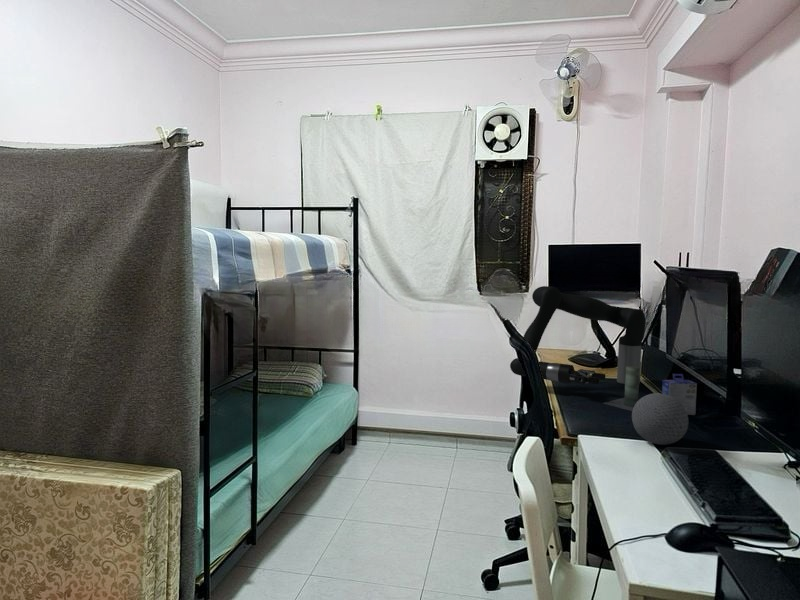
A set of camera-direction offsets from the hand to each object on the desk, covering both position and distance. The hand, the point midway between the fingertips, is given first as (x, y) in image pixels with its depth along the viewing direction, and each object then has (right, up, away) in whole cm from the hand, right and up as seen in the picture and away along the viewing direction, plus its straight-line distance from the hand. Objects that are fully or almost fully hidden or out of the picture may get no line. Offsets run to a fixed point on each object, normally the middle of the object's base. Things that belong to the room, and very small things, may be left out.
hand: (602, 379), depth 191 cm
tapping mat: (+8, -10, -5) cm, 14 cm away
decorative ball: (0, -13, -41) cm, 43 cm away
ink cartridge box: (+21, -11, -14) cm, 27 cm away
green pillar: (+8, -9, -5) cm, 13 cm away
